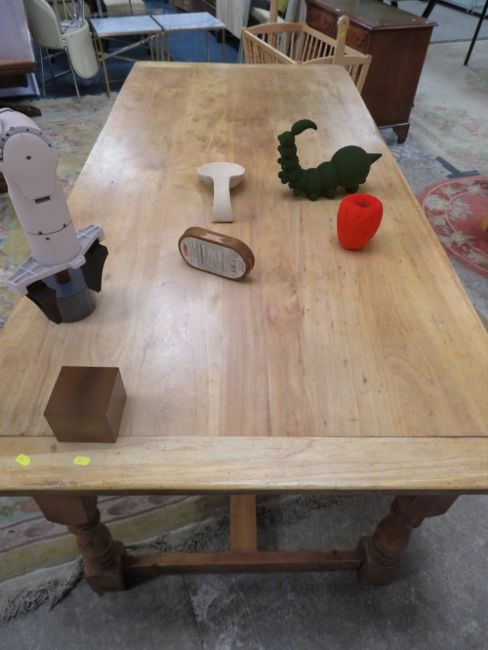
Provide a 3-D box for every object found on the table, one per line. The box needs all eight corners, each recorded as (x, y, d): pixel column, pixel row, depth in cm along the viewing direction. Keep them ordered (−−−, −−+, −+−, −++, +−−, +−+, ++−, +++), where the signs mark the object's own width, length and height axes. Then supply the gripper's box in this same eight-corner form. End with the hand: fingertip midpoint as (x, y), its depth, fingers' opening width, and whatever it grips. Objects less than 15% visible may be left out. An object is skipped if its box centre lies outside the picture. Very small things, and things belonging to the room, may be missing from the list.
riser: (57, 441, 57) (42, 414, 53) (74, 394, 63) (61, 365, 58) (115, 442, 57) (105, 415, 53) (127, 395, 63) (118, 366, 58)
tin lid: (26, 299, 69) (18, 281, 66) (45, 264, 75) (39, 247, 73) (83, 300, 69) (78, 282, 66) (97, 265, 75) (93, 248, 73)
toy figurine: (284, 213, 103) (384, 196, 105) (284, 132, 89) (399, 114, 91) (274, 193, 109) (369, 178, 111) (273, 115, 95) (381, 99, 98)
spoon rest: (197, 174, 112) (196, 146, 107) (243, 173, 113) (244, 146, 108) (197, 224, 95) (195, 193, 90) (250, 223, 96) (251, 193, 91)
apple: (358, 263, 86) (371, 215, 79) (322, 245, 91) (331, 198, 83) (381, 245, 91) (395, 198, 84) (346, 229, 95) (356, 182, 88)
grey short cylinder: (39, 322, 73) (28, 298, 69) (55, 289, 79) (46, 265, 75) (89, 323, 73) (82, 299, 69) (101, 290, 79) (95, 267, 75)
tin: (254, 278, 82) (256, 240, 76) (247, 288, 80) (249, 250, 74) (185, 257, 87) (182, 220, 81) (177, 265, 85) (173, 228, 79)
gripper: (20, 263, 47) (57, 347, 56) (113, 204, 56) (131, 285, 65) (-23, 243, 49) (19, 327, 59) (72, 190, 58) (95, 270, 68)
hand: (76, 304), depth 62 cm, fingers open, 7 cm apart
